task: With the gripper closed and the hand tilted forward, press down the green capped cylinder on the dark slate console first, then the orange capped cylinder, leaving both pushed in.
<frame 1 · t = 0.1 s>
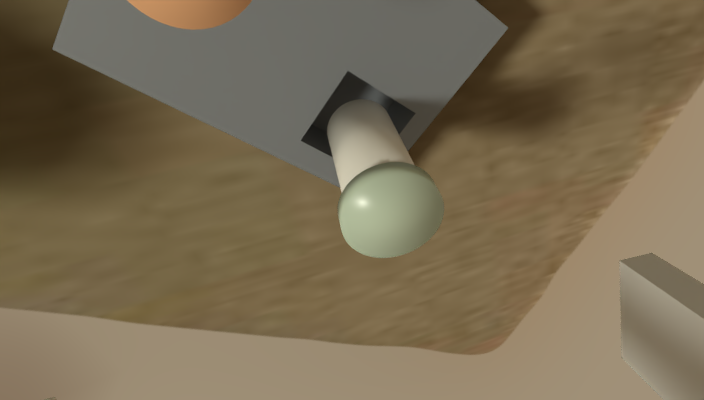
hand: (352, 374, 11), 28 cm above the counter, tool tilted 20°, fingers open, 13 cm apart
green capped cylinder: (373, 167, 28), point 11 cm above the counter, slide at 0.0 cm
console: (290, 16, 32), on the counter
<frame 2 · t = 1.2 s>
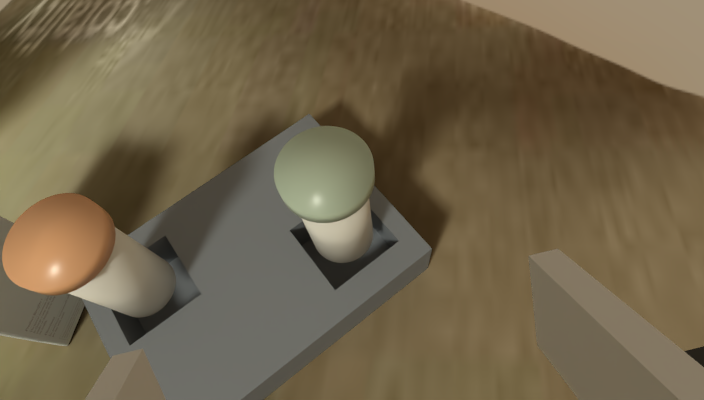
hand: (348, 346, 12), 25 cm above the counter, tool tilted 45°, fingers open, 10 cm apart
green capped cylinder: (334, 206, 30), point 10 cm above the counter, slide at 0.0 cm
console: (263, 279, 39), on the counter
orange capped cylinder: (106, 266, 29), point 10 cm above the counter, slide at 0.0 cm
supplement box: (51, 299, 40), on the counter
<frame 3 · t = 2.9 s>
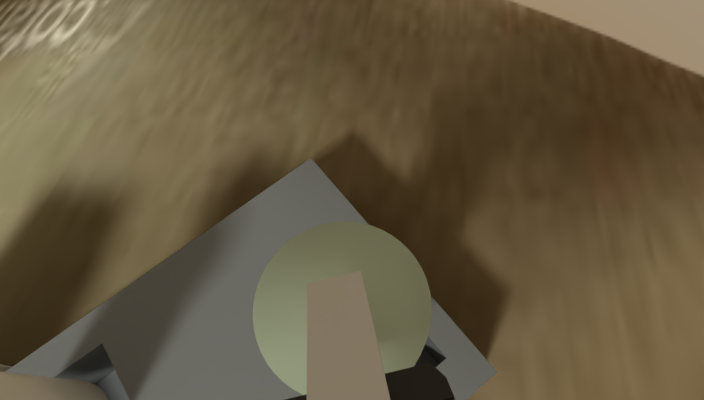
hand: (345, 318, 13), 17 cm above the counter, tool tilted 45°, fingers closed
green capped cylinder: (354, 331, 19), point 10 cm above the counter, slide at 0.3 cm
console: (247, 392, 28), on the counter
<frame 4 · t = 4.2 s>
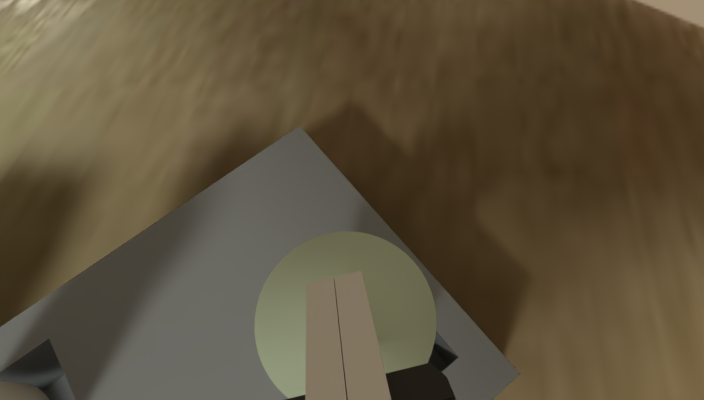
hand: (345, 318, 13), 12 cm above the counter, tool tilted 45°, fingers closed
green capped cylinder: (356, 340, 19), point 6 cm above the counter, slide at 4.4 cm, touching gripper
console: (224, 396, 24), on the counter
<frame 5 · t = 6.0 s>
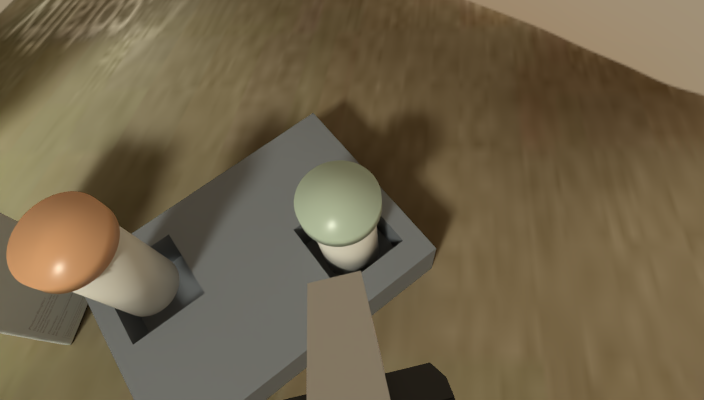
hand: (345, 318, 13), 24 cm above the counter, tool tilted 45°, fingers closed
green capped cylinder: (345, 228, 33), point 6 cm above the counter, slide at 4.1 cm
console: (266, 278, 39), on the counter
orange capped cylinder: (110, 265, 29), point 11 cm above the counter, slide at 0.0 cm
supplement box: (54, 298, 40), on the counter
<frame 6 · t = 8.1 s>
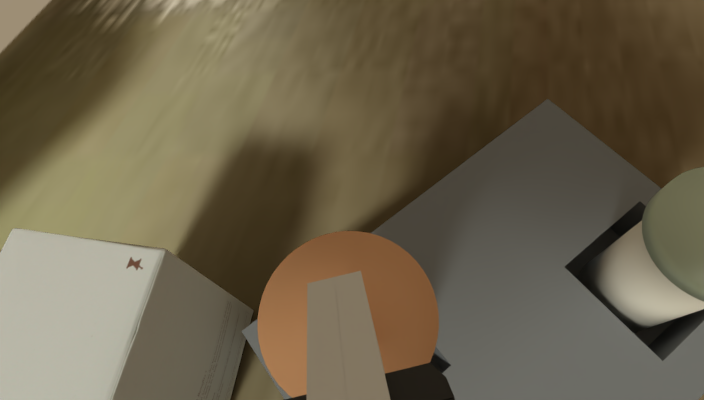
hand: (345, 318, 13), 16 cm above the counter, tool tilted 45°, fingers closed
green capped cylinder: (664, 267, 22), point 6 cm above the counter, slide at 4.1 cm
console: (491, 330, 28), on the counter
orange capped cylinder: (358, 340, 19), point 10 cm above the counter, slide at 0.5 cm, touching gripper
supplement box: (187, 357, 29), on the counter
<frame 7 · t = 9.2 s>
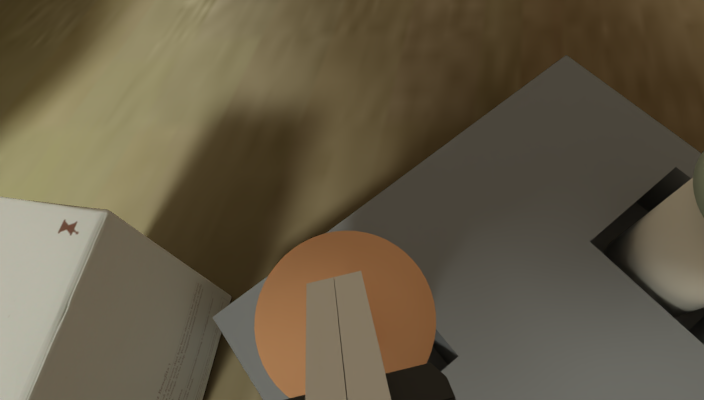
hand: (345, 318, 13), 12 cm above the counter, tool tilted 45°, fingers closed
console: (502, 318, 24), on the counter
orange capped cylinder: (356, 339, 19), point 6 cm above the counter, slide at 4.4 cm, touching console, gripper
supplement box: (155, 350, 25), on the counter
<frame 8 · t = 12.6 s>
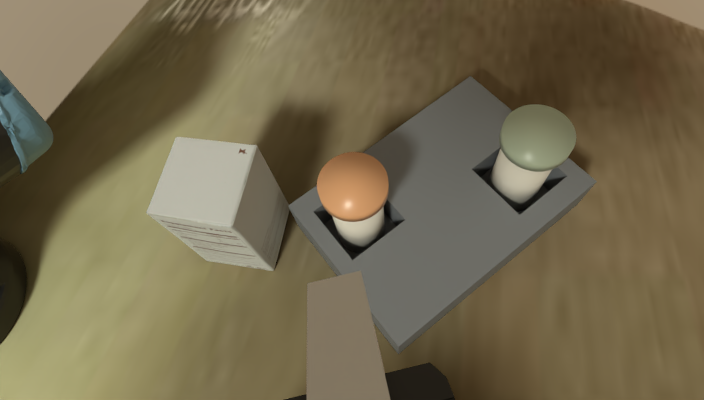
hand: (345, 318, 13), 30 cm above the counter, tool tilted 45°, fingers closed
green capped cylinder: (522, 165, 41), point 6 cm above the counter, slide at 4.1 cm
console: (435, 215, 46), on the counter
orange capped cylinder: (357, 209, 40), point 6 cm above the counter, slide at 4.1 cm
supplement box: (250, 235, 47), on the counter
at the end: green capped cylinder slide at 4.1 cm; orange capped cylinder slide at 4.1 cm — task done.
